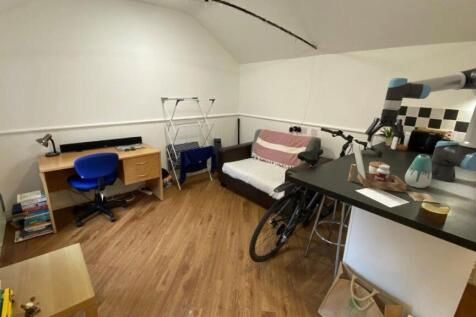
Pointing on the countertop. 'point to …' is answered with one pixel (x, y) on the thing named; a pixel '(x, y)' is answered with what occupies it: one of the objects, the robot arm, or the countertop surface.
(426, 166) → the vase
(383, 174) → the pill bottle
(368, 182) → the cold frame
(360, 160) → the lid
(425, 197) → the cork mat
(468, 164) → the robot arm
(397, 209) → the countertop surface
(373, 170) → the lidded jar
